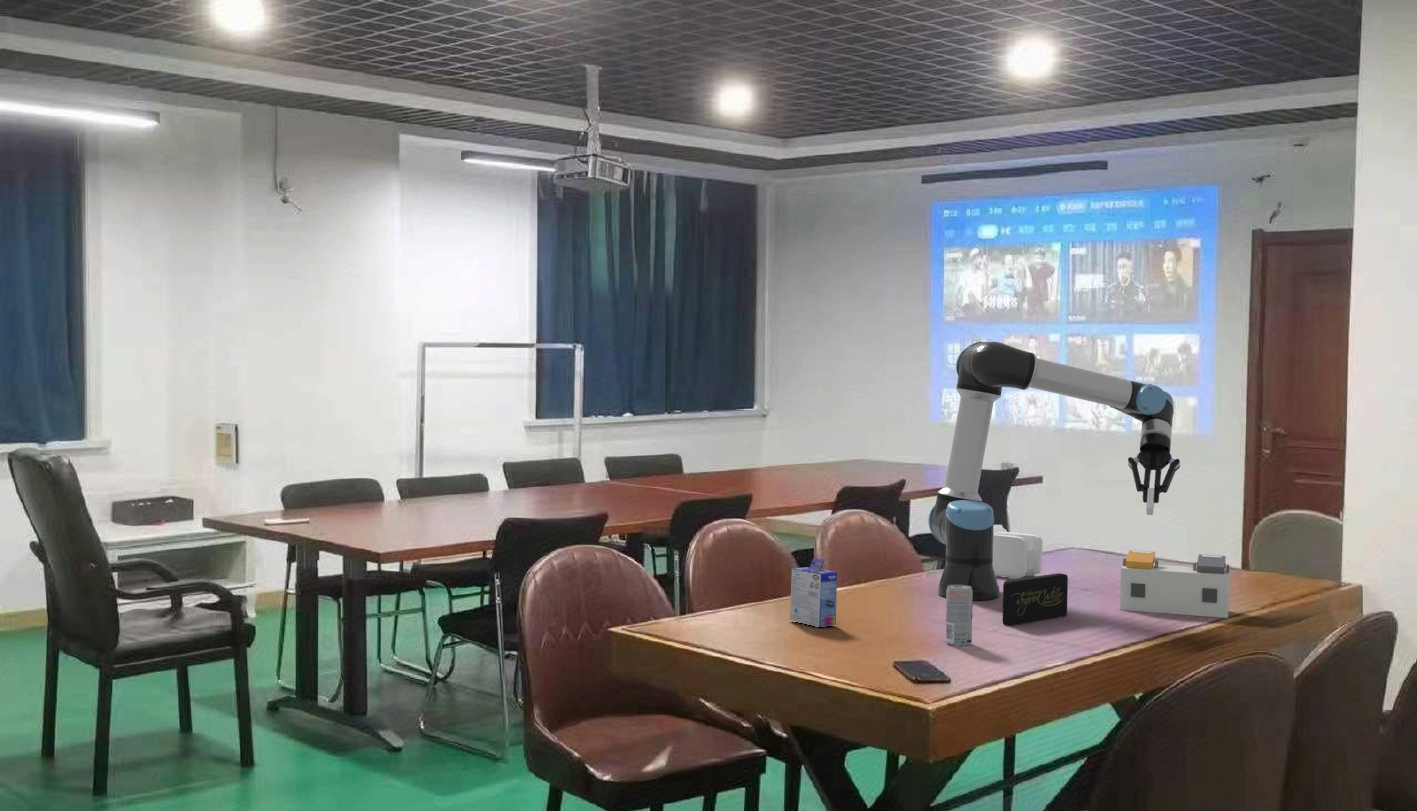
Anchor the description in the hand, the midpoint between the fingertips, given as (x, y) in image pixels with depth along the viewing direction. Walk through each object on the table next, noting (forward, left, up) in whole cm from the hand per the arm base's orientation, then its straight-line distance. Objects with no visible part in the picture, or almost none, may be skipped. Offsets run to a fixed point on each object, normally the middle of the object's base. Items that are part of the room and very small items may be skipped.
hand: (1149, 511), depth 338 cm
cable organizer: (+6, +45, -22) cm, 51 cm away
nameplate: (-45, +2, -23) cm, 51 cm away
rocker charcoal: (-5, -19, -10) cm, 22 cm away
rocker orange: (-12, -5, -10) cm, 16 cm away
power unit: (-8, -12, -22) cm, 27 cm away
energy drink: (-80, -3, -22) cm, 84 cm away
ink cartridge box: (-88, +31, -22) cm, 96 cm away
